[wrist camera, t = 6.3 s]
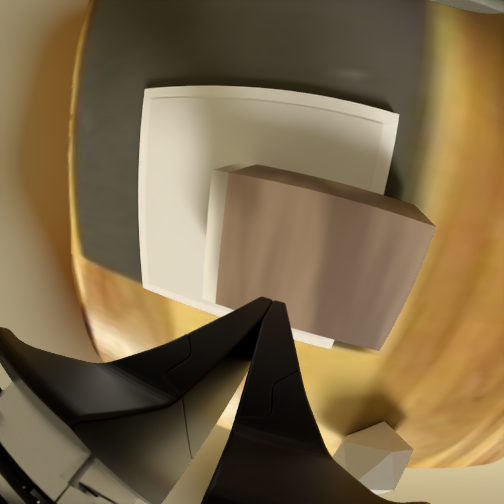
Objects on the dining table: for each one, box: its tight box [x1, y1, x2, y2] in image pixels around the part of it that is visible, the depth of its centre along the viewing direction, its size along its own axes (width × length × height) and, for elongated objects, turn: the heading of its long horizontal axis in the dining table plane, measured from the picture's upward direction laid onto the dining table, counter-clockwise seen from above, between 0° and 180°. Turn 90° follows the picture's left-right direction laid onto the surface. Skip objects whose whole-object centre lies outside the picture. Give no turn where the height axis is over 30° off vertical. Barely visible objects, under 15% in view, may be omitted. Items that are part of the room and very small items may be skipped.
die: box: [332, 421, 413, 495], centre depth 19 cm, size 8×9×10 cm
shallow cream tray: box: [138, 86, 399, 349], centre depth 17 cm, size 16×16×1 cm
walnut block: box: [202, 162, 436, 351], centre depth 14 cm, size 4×7×10 cm
